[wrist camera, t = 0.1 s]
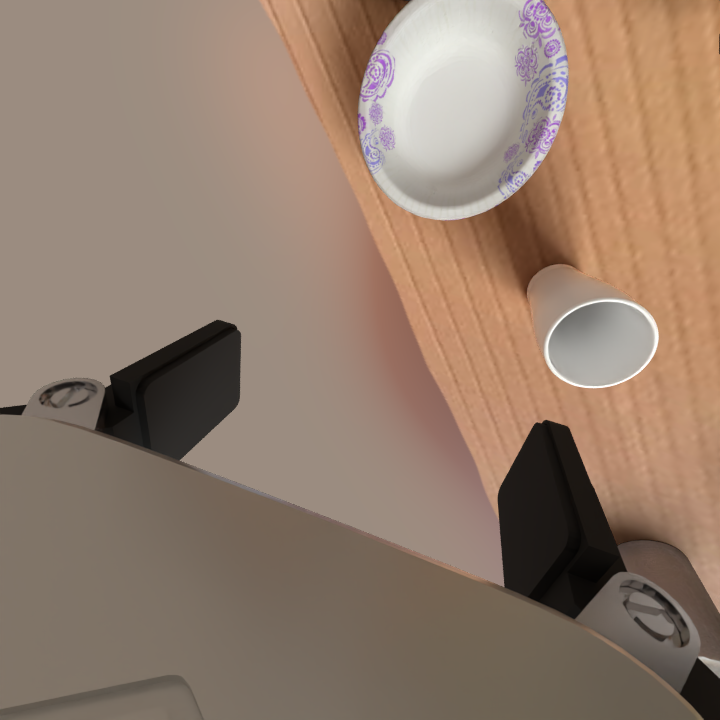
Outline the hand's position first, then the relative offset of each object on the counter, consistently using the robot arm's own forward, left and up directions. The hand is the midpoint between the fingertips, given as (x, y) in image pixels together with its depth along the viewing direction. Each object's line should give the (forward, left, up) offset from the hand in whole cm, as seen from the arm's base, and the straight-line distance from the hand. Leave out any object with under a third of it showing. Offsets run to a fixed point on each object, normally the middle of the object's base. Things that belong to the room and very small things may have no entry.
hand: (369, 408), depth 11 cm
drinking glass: (+1, +12, -31) cm, 34 cm away
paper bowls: (-11, -2, -31) cm, 33 cm away
